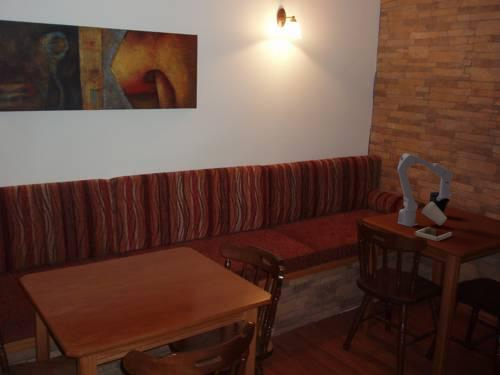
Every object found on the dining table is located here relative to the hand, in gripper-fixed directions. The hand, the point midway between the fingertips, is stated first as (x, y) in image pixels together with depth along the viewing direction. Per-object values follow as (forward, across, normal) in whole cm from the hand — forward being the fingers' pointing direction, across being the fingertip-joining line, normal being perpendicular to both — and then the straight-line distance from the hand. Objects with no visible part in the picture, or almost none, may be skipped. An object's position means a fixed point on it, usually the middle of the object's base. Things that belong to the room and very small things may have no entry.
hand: (442, 210), depth 314 cm
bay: (+10, -23, -7) cm, 26 cm away
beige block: (+10, -27, -7) cm, 29 cm away
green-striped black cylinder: (+10, +19, +14) cm, 25 cm away
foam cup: (+6, -4, -3) cm, 8 cm away
